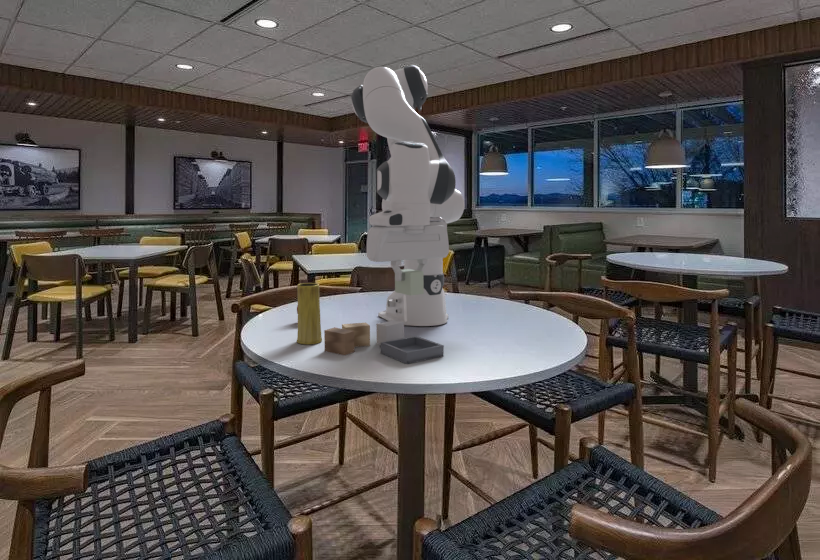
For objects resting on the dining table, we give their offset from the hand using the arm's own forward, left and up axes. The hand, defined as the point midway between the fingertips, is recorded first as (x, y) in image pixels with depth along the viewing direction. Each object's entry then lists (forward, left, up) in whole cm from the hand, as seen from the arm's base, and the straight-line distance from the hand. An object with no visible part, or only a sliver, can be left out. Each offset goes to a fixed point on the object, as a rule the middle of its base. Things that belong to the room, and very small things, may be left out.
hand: (409, 279), depth 115 cm
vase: (-23, -14, -17) cm, 32 cm away
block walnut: (-11, -12, -17) cm, 24 cm away
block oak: (-14, -6, -17) cm, 23 cm away
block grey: (-11, +2, -17) cm, 21 cm away
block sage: (0, 0, -3) cm, 3 cm away
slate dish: (+1, 0, -17) cm, 17 cm away
